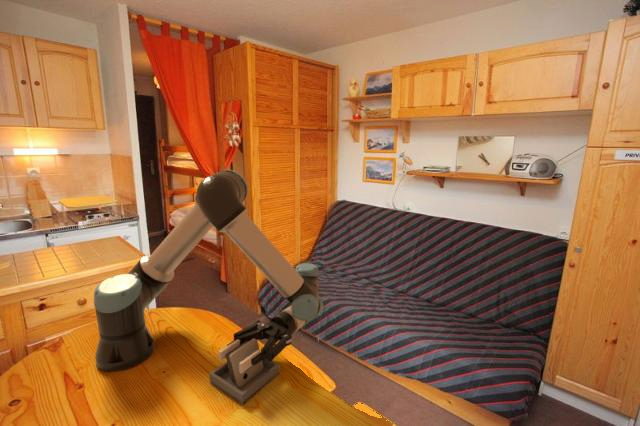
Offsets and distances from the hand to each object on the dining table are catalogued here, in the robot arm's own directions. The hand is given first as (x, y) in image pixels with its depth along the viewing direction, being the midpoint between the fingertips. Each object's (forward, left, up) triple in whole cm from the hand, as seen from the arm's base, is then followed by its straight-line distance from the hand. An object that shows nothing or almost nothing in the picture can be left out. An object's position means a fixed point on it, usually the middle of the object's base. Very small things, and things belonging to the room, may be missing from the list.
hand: (230, 362), depth 84 cm
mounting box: (0, +5, -8) cm, 10 cm away
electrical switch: (0, +5, -8) cm, 9 cm away
